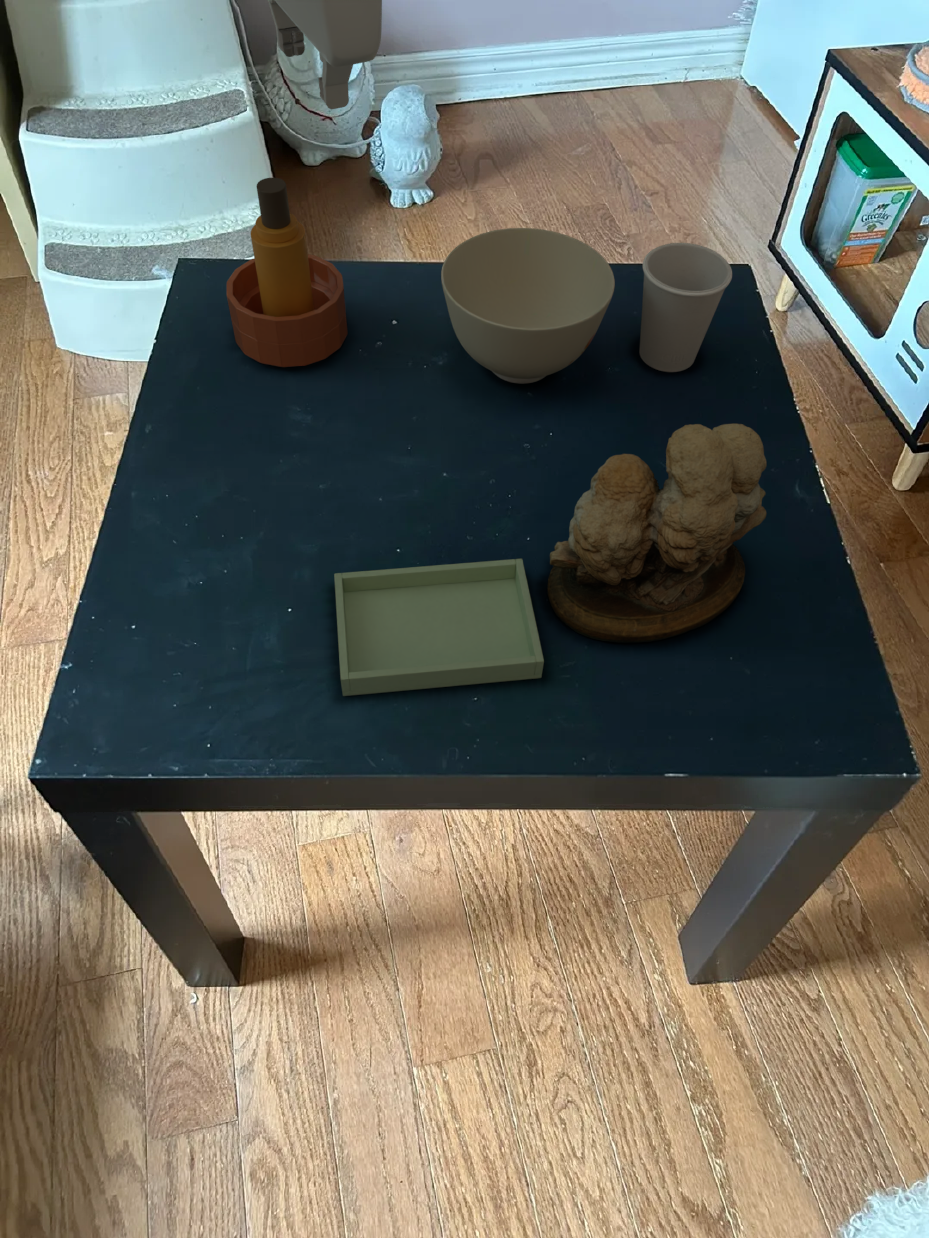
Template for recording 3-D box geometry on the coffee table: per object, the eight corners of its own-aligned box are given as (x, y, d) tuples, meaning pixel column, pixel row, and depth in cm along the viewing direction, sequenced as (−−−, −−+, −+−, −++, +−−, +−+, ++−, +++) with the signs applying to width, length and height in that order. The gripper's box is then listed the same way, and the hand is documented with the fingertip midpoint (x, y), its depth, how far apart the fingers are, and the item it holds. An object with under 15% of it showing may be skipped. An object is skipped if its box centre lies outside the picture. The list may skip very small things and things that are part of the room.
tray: (342, 696, 73) (340, 679, 71) (336, 591, 79) (334, 573, 77) (541, 678, 74) (544, 661, 72) (520, 576, 80) (522, 558, 78)
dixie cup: (623, 327, 101) (640, 239, 93) (703, 330, 101) (727, 243, 93) (628, 378, 96) (646, 291, 88) (712, 383, 96) (738, 295, 88)
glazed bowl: (263, 385, 94) (254, 333, 89) (219, 323, 99) (208, 271, 95) (366, 350, 97) (363, 298, 93) (318, 292, 103) (312, 240, 98)
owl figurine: (705, 504, 86) (756, 346, 72) (779, 602, 79) (852, 448, 66) (520, 561, 81) (539, 403, 67) (584, 669, 75) (618, 519, 61)
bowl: (547, 440, 90) (558, 352, 82) (408, 375, 95) (406, 287, 87) (627, 352, 98) (645, 264, 90) (496, 297, 103) (501, 209, 95)
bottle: (279, 352, 96) (256, 205, 83) (258, 325, 98) (233, 179, 86) (324, 337, 97) (309, 191, 85) (303, 311, 100) (285, 165, 88)
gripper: (201, -180, 69) (232, 30, 80) (301, -83, 58) (320, 145, 69) (285, -188, 71) (304, 19, 82) (397, -96, 60) (401, 128, 71)
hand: (312, 77), depth 75 cm, fingers open, 8 cm apart
